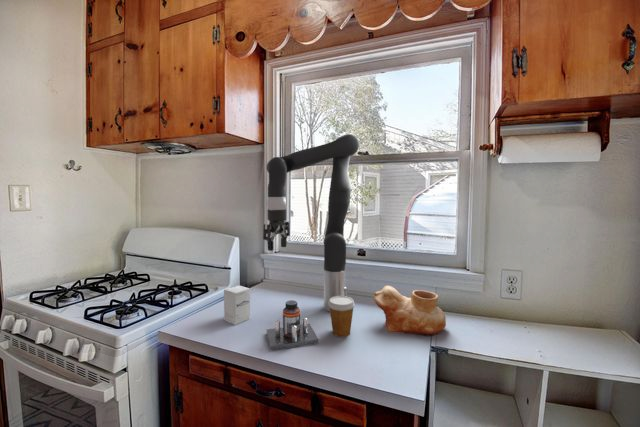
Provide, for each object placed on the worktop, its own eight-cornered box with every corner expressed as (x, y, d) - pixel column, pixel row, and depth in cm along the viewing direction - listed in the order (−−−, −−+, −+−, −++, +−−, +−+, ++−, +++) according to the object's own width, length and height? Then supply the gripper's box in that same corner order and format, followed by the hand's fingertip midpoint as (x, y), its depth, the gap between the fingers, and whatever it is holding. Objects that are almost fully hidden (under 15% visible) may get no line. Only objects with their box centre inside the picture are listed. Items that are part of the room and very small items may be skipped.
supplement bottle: (285, 329, 103) (285, 298, 102) (302, 330, 102) (301, 299, 101) (280, 337, 97) (280, 304, 96) (298, 338, 96) (297, 305, 95)
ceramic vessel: (373, 316, 117) (373, 280, 116) (441, 321, 112) (442, 284, 111) (373, 332, 103) (373, 291, 102) (450, 339, 98) (451, 296, 98)
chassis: (309, 327, 107) (309, 310, 107) (318, 343, 96) (318, 324, 95) (266, 333, 103) (266, 315, 102) (270, 350, 91) (270, 331, 91)
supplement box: (235, 325, 109) (234, 293, 108) (223, 320, 114) (223, 289, 113) (250, 318, 115) (250, 288, 114) (239, 314, 119) (238, 284, 119)
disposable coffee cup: (340, 324, 110) (340, 293, 109) (360, 332, 103) (360, 300, 102) (322, 332, 103) (322, 300, 103) (342, 342, 96) (342, 307, 96)
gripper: (280, 207, 122) (280, 245, 123) (257, 209, 110) (258, 250, 111) (294, 207, 118) (295, 246, 119) (273, 209, 106) (273, 252, 107)
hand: (277, 248), depth 115 cm, fingers open, 8 cm apart
